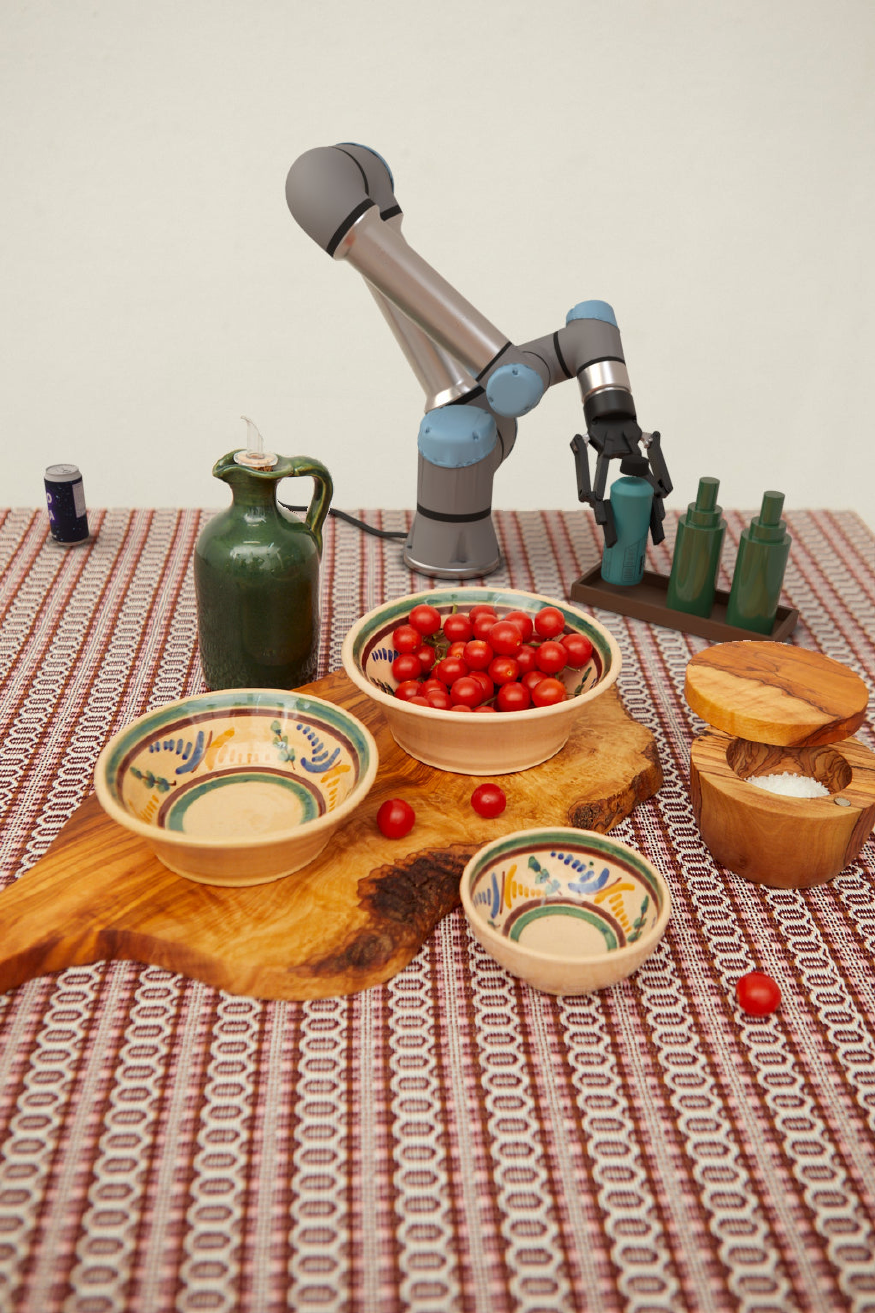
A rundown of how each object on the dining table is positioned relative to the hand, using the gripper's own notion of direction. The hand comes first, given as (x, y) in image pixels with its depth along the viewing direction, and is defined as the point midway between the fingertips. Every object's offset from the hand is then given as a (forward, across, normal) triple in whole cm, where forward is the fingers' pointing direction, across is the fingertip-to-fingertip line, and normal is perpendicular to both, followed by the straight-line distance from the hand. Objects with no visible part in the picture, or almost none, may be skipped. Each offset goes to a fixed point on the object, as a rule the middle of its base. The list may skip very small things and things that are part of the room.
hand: (635, 543), depth 157 cm
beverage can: (-19, +81, -32) cm, 89 cm away
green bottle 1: (+10, -8, -4) cm, 13 cm away
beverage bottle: (+4, 0, -9) cm, 9 cm away
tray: (+10, -7, -5) cm, 13 cm away
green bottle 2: (+14, -14, +1) cm, 20 cm away
